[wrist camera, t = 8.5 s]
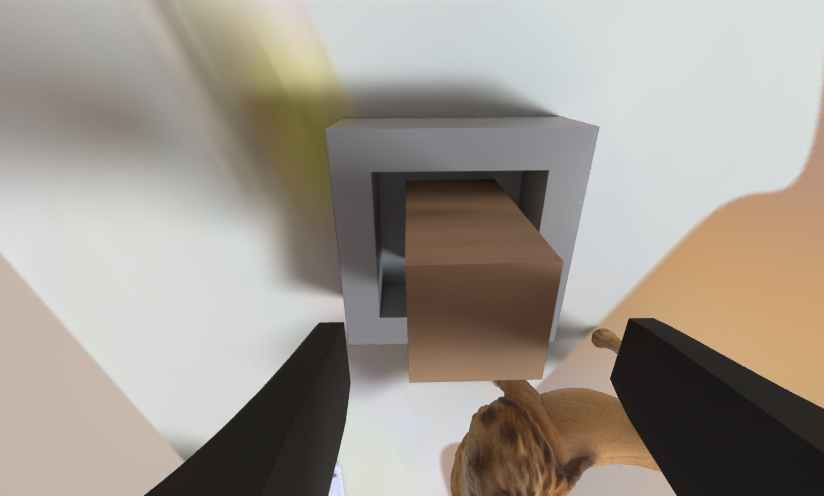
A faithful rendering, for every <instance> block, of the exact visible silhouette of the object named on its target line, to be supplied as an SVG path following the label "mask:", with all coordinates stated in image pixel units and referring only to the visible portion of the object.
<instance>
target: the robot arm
mask: <svg viewBox="0 0 824 496" xmlns="http://www.w3.org/2000/svg"><path fill="white" fill-rule="evenodd" d="M610 380H611V382H612V384H613V387H614V389H615V391H616V393H617V396H618V398H619V400H620V402H621V404H622V406H623V408H624V410H625V412H626V414H627V416H628V418H629V420H630V422H631V423H632V425H633V427H634V428H635V430H636V432H637V433H638V435H639V436H640V438H641V440H642V441H643V443H644V444H645V446H646V448H647V449H648V451H649V453H650V454H651V456H652V457H653V459H654V460H655V462H656V464H657V465H658V467H659V468H660V470H661V471H662V473H663V475H664V476H665V478H666V479H667V481H668V483H669V484H670V486H671V487H672V489H673V490H674V492H675V493H676V495H677V496H824V409H823V408H821V407H819V406H817V405H815V404H813V403H812V402H810V401H808V400H806V399H804V398H802V397H800V396H798V395H796V394H794V393H792V392H790V391H788V390H786V389H784V388H782V387H780V386H779V385H777V384H775V383H773V382H771V381H769V380H767V379H766V378H764V377H762V376H760V375H758V374H756V373H755V372H753V371H751V370H749V369H747V368H746V367H743V366H742V365H740V364H738V363H736V362H735V361H733V360H731V359H729V358H727V357H726V356H724V355H722V354H720V353H718V352H717V351H715V350H713V349H711V348H709V347H708V346H706V345H704V344H702V343H700V342H699V341H697V340H695V339H693V338H691V337H689V336H688V335H686V334H684V333H682V332H680V331H678V330H676V329H674V328H673V327H671V326H669V325H667V324H665V323H663V322H660V321H658V320H656V319H654V318H630V319H629V320H628V323H627V326H626V330H625V333H624V336H623V339H622V342H621V346H620V349H619V352H618V355H617V358H616V361H615V365H614V368H613V371H612V374H611V378H610ZM350 383H351V382H350V373H349V364H348V355H347V346H346V338H345V329H344V322H330V323H319V324H318V325H317V326H316V327H315V328H314V329H313V330H312V331H311V333H310V334H309V335H308V336H307V337H306V339H305V340H304V341H303V342H302V343H301V345H300V346H299V347H298V348H297V349H296V351H295V352H294V353H293V354H292V355H291V356H290V358H289V359H288V360H287V361H286V362H285V363H284V364H283V366H282V367H281V368H280V369H279V370H278V371H277V372H276V373H275V374H274V376H273V377H272V378H271V379H270V380H269V381H268V382H267V383H266V384H265V385H264V387H263V388H262V389H261V390H260V391H259V392H258V393H257V394H256V395H255V396H254V397H253V398H252V399H251V400H250V401H249V402H248V403H247V404H246V405H245V406H244V407H243V408H242V409H241V410H240V411H239V412H238V413H237V414H236V415H235V416H234V417H233V418H232V419H231V420H230V421H229V422H228V423H227V424H226V425H225V426H224V427H223V428H222V429H221V430H220V431H219V432H218V433H217V434H216V435H214V436H213V437H212V438H211V439H210V440H209V441H208V442H207V443H206V444H205V445H204V446H202V447H201V448H200V449H199V450H198V451H197V452H196V453H195V454H193V455H192V456H191V457H190V458H189V459H188V460H187V461H185V462H184V463H183V464H182V465H181V466H180V467H179V468H177V469H176V470H175V471H174V472H173V473H171V474H170V475H169V476H168V477H167V478H165V479H164V480H163V481H162V482H160V483H159V484H158V485H157V486H156V487H154V488H153V489H152V490H150V491H149V492H148V493H147V494H145V495H144V496H345V495H344V488H343V481H342V475H341V468H340V464H339V463H338V462H336V461H337V457H338V453H339V449H340V444H341V440H342V436H343V432H344V427H345V423H346V416H347V408H348V400H349V392H350Z"/></svg>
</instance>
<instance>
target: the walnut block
mask: <svg viewBox="0 0 824 496" xmlns="http://www.w3.org/2000/svg"><path fill="white" fill-rule="evenodd" d="M563 263H564V262H563V260H562V259H561V258H560V257H559V256H558V254H557V253H556V252H555V251H554V250H553V248H552V247H551V246H550V245H549V244H548V242H547V241H546V240H545V239H544V238H543V236H542V235H541V234H540V233H539V232H538V230H537V229H536V228H535V227H534V226H533V224H532V223H531V222H530V221H529V220H528V219H527V217H526V216H525V215H524V214H523V213H522V211H521V210H520V209H519V208H518V207H517V205H516V204H515V203H514V202H513V201H512V199H511V198H510V197H509V196H508V195H507V193H506V192H505V191H504V190H503V189H502V187H501V186H500V185H499V184H498V183H497V182H496V180H495V179H473V180H433V181H406V233H405V279H406V307H407V336H408V364H409V383H412V382H452V381H492V380H533V379H542V377H543V372H544V366H545V361H546V355H547V350H548V345H549V339H550V334H551V328H552V323H553V317H554V312H555V306H556V301H557V296H558V290H559V285H560V279H561V274H562V268H563Z"/></svg>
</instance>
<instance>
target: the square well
mask: <svg viewBox="0 0 824 496" xmlns="http://www.w3.org/2000/svg"><path fill="white" fill-rule="evenodd" d="M598 131H599V126H595V125H591V124H587V123H584V122H580V121H576V120H572V119H569V118H565V117H561V116H542V117H438V118H342V119H340V120H339V121H337V122H336V123H334V124H333V125H331V126H329V127H328V128H326V129H325V133H326V143H327V152H328V161H329V170H330V179H331V188H332V198H333V207H334V216H335V225H336V234H337V244H338V253H339V262H340V271H341V280H342V289H343V299H344V308H345V317H346V326H347V335H348V345H371V344H408V336H407V307H406V279H405V233H406V181H433V180H473V179H495V180H496V182H497V183H498V184H499V185H500V186H501V187H502V189H503V190H504V191H505V192H506V193H507V195H508V196H509V197H510V198H511V199H512V201H513V202H514V203H515V204H516V205H517V207H518V208H519V209H520V210H521V211H522V213H523V214H524V215H525V216H526V217H527V219H528V220H529V221H530V222H531V223H532V224H533V226H534V227H535V228H536V229H537V230H538V232H539V233H540V234H541V235H542V236H543V238H544V239H545V240H546V241H547V242H548V244H549V245H550V246H551V247H552V248H553V250H554V251H555V252H556V253H557V254H558V256H559V257H560V258H561V259H562V260H563V262H564V263H563V268H562V274H561V279H560V285H559V290H558V296H557V301H556V306H555V312H554V317H553V323H552V328H551V334H550V339H549V342H554V340H555V336H556V331H557V326H558V321H559V317H560V312H561V307H562V302H563V298H564V293H565V288H566V283H567V279H568V274H569V269H570V264H571V260H572V255H573V250H574V245H575V240H576V236H577V231H578V226H579V221H580V217H581V212H582V207H583V202H584V198H585V193H586V188H587V183H588V179H589V174H590V169H591V164H592V159H593V155H594V150H595V145H596V140H597V136H598Z"/></svg>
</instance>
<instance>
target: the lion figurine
mask: <svg viewBox="0 0 824 496" xmlns="http://www.w3.org/2000/svg"><path fill="white" fill-rule="evenodd" d="M621 342H622V341H621V340H620V339H619V338H618V337H617V336H616V335H615V334H614V333H612V332H611V331H609V330H607V329H598V330H596V331H595V332H594V333H593V335H592V343H593V344H594V345H595V346H596V347H598V348H608V349H611V350H612V351H614V352H615V353H617V354H618V352H619V349H620V346H621ZM499 385H500V389H501V390H503V392H504V395H505V396H504V397H499V398H498V399H497V400H495V401H494V402H492V403H491V404H490V405H485V406H483V407H480V408H479V410H478V412H477V413H475V414H474V415H473V416H472V421H471V424H470V429H469V432H468V433H467V434H466V435H465V437H464V438H463V440H462V443H461V444H460V445H459V447H458V450H457V452H456V454H455V462H454V465H453V469H452V473H451V492H452V496H566V495H567V494H569V493H570V491H571V490H572V489H573V488H574V487H575V485H576V482H577V481H578V480H579V479H580V477H581V475H582V473H583V472H584V471H585V470H586V469H588V468H589V467H595V466H602V465H613V464H627V465H637V466H642V467H645V468H649V469H653V470H657V471H661V470H660V468H659V467H658V465H657V464H656V462H655V460H654V459H653V457H652V456H651V454H650V453H649V451H648V449H647V448H646V446H645V444H644V443H643V441H642V440H641V438H640V436H639V435H638V433H637V432H636V430H635V428H634V427H633V425H632V423H631V422H630V420H629V418H628V416H627V414H626V412H625V410H624V408H623V406H622V404H621V402H620V400H619V399H618V398H615V397H613V396H611V395H607V394H604V393H602V392H598V391H595V390H591V389H585V388H564V389H558V390H554V391H550V392H547V393H543V394H539V393H538V392H537V391H536V390H535V389H534V388H533V387H532V386H531V385H530V384H529V383H528V382H527V380H501V382H500V384H499ZM661 472H662V471H661Z"/></svg>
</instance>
